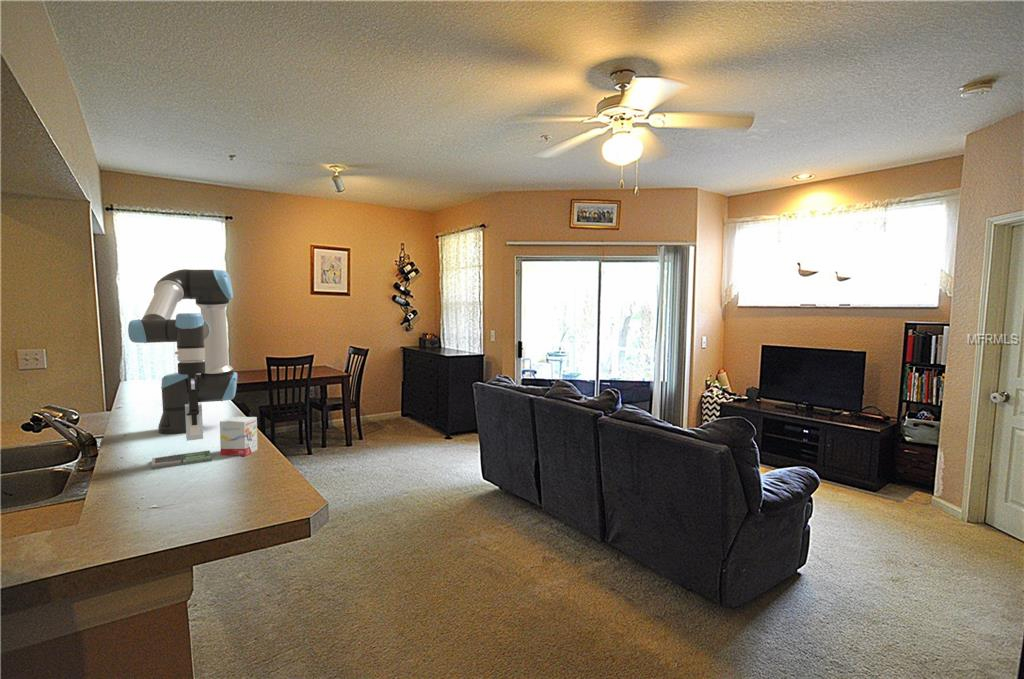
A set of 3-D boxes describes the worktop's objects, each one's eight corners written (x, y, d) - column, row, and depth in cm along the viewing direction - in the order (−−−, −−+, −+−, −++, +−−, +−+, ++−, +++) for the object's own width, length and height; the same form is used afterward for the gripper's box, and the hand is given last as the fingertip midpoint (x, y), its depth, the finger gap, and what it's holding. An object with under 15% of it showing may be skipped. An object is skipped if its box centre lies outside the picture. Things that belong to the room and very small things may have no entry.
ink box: (245, 456, 170) (244, 421, 169) (219, 456, 170) (218, 421, 169) (258, 449, 178) (257, 415, 178) (234, 449, 179) (233, 415, 178)
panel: (152, 460, 166) (152, 456, 165) (209, 452, 174) (209, 448, 174) (150, 471, 155) (150, 466, 155) (212, 462, 163) (211, 457, 163)
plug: (186, 438, 166) (184, 401, 166) (202, 436, 169) (201, 400, 168) (186, 440, 163) (184, 403, 162) (203, 438, 165) (201, 402, 165)
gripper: (177, 360, 170) (180, 429, 171) (177, 364, 155) (180, 440, 156) (203, 358, 174) (206, 426, 175) (206, 362, 159) (209, 437, 160)
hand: (194, 433), depth 166 cm, fingers closed on plug, 4 cm apart
